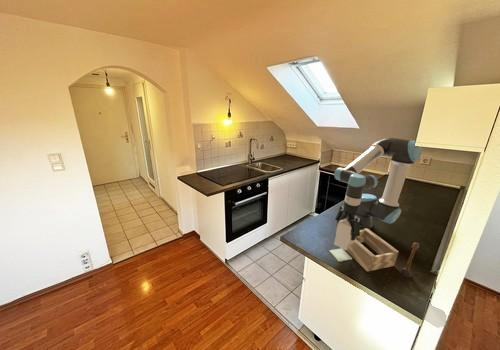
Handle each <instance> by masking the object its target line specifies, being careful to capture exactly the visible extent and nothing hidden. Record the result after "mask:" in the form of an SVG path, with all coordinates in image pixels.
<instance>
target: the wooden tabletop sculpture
mask: <svg viewBox="0 0 500 350" xmlns="http://www.w3.org/2000/svg"><path fill="white" fill-rule="evenodd" d="M419 247H420V243H419V242H413V243H412V245H411V248H412V249H411V252H410V255H409V257H408V260H407V261H406V264H405V266H404V267H403V268H401V269H400V270H399V274H400V275H401V276H402V277H403V278H406V279H410V278H411V277H412V272H411V266H412V261H413V259H414V256H415V254H416V251H417V250H418V249H419Z"/></svg>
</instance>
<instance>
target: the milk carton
mask: <svg viewBox="0 0 500 350" xmlns="http://www.w3.org/2000/svg"><path fill="white" fill-rule="evenodd" d="M351 229H352V227H351V225H350V222H349V220H348V217H347V218H344V219H342V220H341V221H339V223H338V227H337V226H336V230H337V232H335V233H336V234H335V238H334V242H333V245H334V246H336V247H338V248H339V249H340V248H342V249H344V250H345V251H346V250H347V249H348V248H349V247H350V246H351V245H348V241H349V237H350V234H351Z"/></svg>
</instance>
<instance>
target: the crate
mask: <svg viewBox="0 0 500 350" xmlns="http://www.w3.org/2000/svg"><path fill="white" fill-rule="evenodd" d="M362 243H364V244H366V246H367V247H369V249H370V248H371V250H372V251H374V252H375V253H376V255H375V254H374V253H373V252H371V251H370V250H369V249H368V248H367V247H365V246H364V244H362ZM345 252H346V253H347V254H348V255H349V256H350V257H351V258H352V259H354V261H356V262H357V263H358V264H359V265H360V266H361V267H362V268H363V269H364V270H365V271H366V272H371V271H376V270H381V269H385V268H391V267H394V266H395V263H396V261H397V259H398V256H399V253H400V252H399V250H397V249H396V248H395V247H394V246H392V245H391V244H389V243H388V242H387V241H385V240H384V239H382V237H380V236H379V235H377V234H376V233H374V232H373V231H372V230H371V229H368V228H366V229H360V236H356V237H355V240H354V242H353V244H351V246H350V247H349V248H348V249H347V250H345Z"/></svg>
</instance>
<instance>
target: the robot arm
mask: <svg viewBox="0 0 500 350" xmlns="http://www.w3.org/2000/svg"><path fill="white" fill-rule="evenodd" d="M416 141H417V140H413V139H412V140H411V139H404V138H399V137H398V138H396V137H386V138H382V139H380V140H378V141H375V142H374V143H372V144H371V145H370V146H368V149H367V150H366V151H365V152H363V153H362V154H361V155H359V156H358V157H357V158H355V160H353V161H351V162H350V163H349V164H348V165H347V166H345V167H344V168H343V167H337V168H336V169H335V171H334V174H333V176H334V179H335V180H337V181H339V182H342V183H346V184H347V187H346V192H345V197H344V202H343V206H339V210H338V211H337V212H338V213H337V214H336V216H335V221H336V228H337V227H338V223H339V221H341V220H342V219H344V218H347V217H348V220H349V222H350V225H351V227H352V229H351V234H350V237H349V241H348V245H351V244H353V242H354V240H355V237H356V236H360V230H364V229H366V228H368V229H369V230H371V229H372V228H373V224H374V223H373V218H376V219H378V220H380V221H382V222H384V223H387V224H393V223H395V221H396V220H397V219H398V218H399V217H400V215H401V213H402V209H401V208H400V204H399V202H398V201H399V199H400V194H402V193H401V192H402V189H403V186H404V183H405V180H406V177H407V174H408V172H409V169H410V167H411V166H412V165H414V164H415V163H417V162H418V161H419V160H420V158H421V156H422V152H423V151H422V150H423V148H422V147H423V146H422V147H419V146H415V143H416ZM383 156H387V157H391V158H390V161H391V162H392V164H391V168H390V171H389V174H388V177H387V181H386V183H385V188H384V191H383V193H382V196H381V197H379V198H378V199H377V196H376V195H374V194H370V193H364V192H365V191H369V190H372V189H374V188H376V187H377V185H378V184H379V181H378V178H377V177H376V176H375V175H373V174H367V175H366V174H363V173H361V172H362V171H363V170H365V169H366V168H367V167H368V166H369V165H371V164H372V163H373V162H375V161H376V160H377V159H379V158H382V157H383ZM335 231H336V232H337V229H336V230H335ZM336 232H335V233H336Z"/></svg>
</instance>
